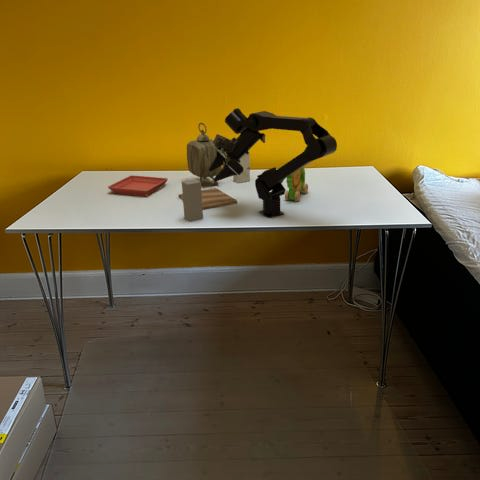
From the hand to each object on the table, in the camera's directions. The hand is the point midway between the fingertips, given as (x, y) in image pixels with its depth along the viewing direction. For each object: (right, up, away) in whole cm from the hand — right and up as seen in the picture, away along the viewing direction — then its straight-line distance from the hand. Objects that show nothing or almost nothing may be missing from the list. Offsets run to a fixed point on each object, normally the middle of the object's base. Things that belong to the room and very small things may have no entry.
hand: (211, 175), depth 163 cm
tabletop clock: (-5, +1, +36) cm, 36 cm away
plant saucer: (-31, -2, +31) cm, 44 cm away
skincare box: (+10, +3, +38) cm, 40 cm away
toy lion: (+31, -6, +17) cm, 36 cm away
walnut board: (-3, -7, +16) cm, 18 cm away
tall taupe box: (-6, -15, -1) cm, 16 cm away
